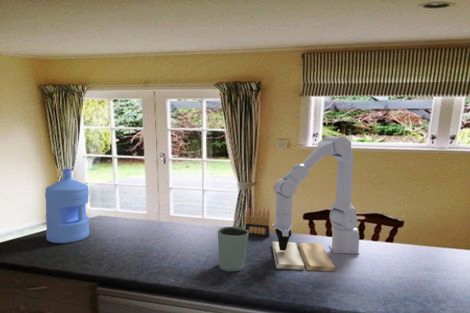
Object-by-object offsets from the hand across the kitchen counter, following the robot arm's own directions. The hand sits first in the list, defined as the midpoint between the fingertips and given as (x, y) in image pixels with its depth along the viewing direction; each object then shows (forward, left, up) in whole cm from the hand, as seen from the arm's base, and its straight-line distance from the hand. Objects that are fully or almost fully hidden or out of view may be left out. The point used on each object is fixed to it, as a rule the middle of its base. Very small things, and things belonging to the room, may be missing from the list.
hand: (282, 249), depth 120 cm
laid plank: (-11, 0, -2) cm, 12 cm away
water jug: (+86, -12, -3) cm, 86 cm away
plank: (-2, 0, -2) cm, 3 cm away
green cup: (+18, +10, -3) cm, 20 cm away
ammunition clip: (+9, -23, -3) cm, 25 cm away
